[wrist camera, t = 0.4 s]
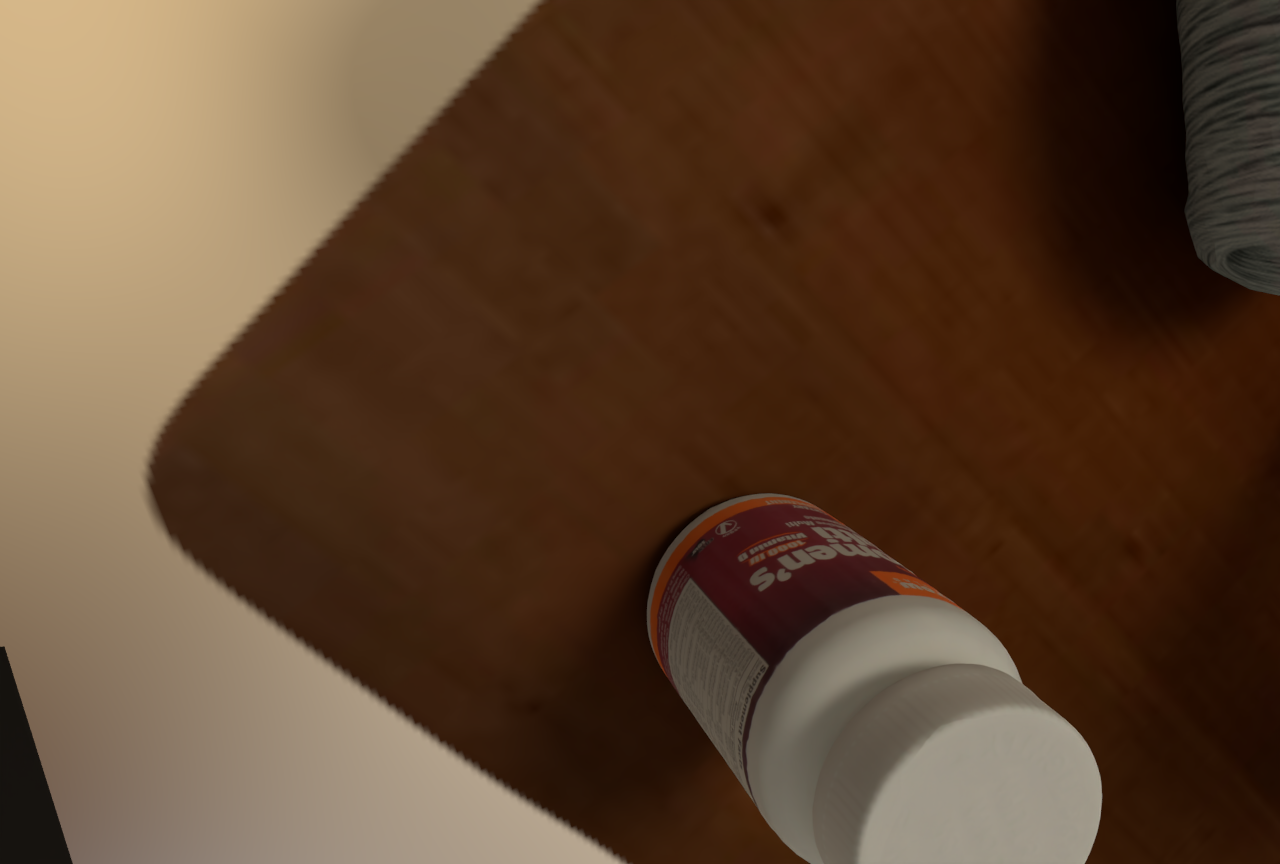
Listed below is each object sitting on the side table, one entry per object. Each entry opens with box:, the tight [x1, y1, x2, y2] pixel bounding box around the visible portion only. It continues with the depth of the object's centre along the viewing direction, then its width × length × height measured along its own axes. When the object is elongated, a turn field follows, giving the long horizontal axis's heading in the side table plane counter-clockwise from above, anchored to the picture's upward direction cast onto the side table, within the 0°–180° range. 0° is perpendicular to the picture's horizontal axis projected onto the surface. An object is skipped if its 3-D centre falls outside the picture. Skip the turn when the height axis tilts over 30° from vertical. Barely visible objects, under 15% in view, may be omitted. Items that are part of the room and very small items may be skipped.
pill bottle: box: [647, 493, 1102, 864], centre depth 26 cm, size 6×6×11 cm
